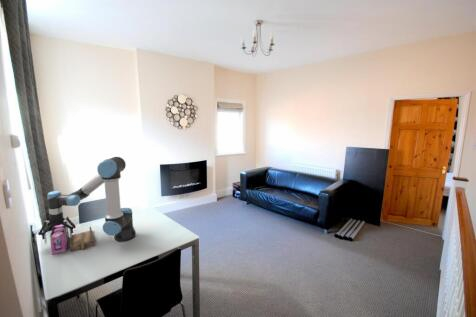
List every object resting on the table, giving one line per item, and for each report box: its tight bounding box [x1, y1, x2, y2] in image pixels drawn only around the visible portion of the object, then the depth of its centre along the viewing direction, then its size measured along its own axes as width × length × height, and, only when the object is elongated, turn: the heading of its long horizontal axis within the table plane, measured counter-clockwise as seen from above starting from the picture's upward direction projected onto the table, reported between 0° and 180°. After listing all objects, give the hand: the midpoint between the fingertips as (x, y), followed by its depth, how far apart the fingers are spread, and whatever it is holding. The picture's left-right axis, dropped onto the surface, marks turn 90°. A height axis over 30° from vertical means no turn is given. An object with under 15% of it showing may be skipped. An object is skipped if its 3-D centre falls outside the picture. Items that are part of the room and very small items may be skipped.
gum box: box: [49, 220, 70, 255], centre depth 165 cm, size 24×8×14 cm, turn 31°
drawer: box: [69, 226, 95, 252], centre depth 172 cm, size 14×29×8 cm, turn 36°
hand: (58, 240), depth 166 cm, fingers open, 14 cm apart
